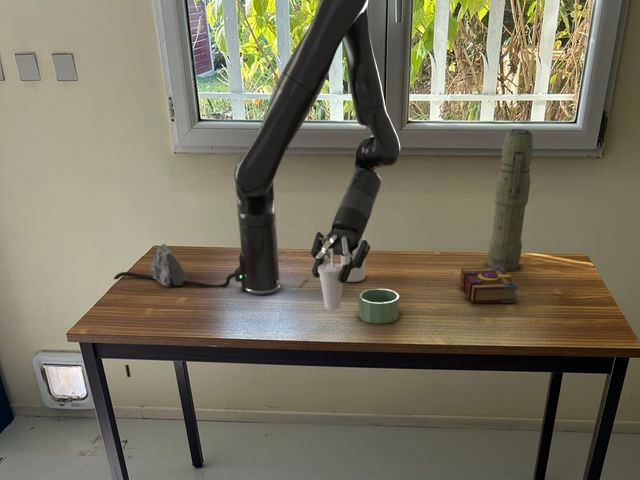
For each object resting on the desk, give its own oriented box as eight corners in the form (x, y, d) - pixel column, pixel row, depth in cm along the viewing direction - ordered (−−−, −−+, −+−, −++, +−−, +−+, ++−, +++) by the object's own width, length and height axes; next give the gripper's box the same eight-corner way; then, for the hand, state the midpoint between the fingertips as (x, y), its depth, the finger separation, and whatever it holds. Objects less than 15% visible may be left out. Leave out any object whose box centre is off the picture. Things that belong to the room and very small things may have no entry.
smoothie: (326, 313, 163) (324, 254, 155) (314, 304, 168) (312, 246, 159) (350, 308, 165) (349, 249, 157) (338, 299, 170) (337, 242, 162)
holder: (356, 321, 165) (356, 301, 163) (363, 306, 173) (363, 287, 170) (395, 324, 164) (395, 304, 161) (400, 309, 171) (401, 290, 169)
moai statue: (513, 258, 202) (531, 126, 182) (523, 272, 193) (543, 134, 173) (483, 259, 202) (497, 126, 182) (491, 273, 193) (507, 135, 173)
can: (364, 282, 187) (365, 237, 180) (340, 282, 187) (340, 237, 180) (364, 274, 192) (365, 230, 185) (341, 274, 192) (340, 230, 185)
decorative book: (471, 305, 173) (473, 286, 171) (457, 282, 187) (459, 264, 184) (516, 303, 174) (519, 284, 171) (499, 281, 187) (501, 262, 185)
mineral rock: (153, 272, 194) (147, 235, 188) (192, 271, 195) (187, 234, 189) (145, 288, 184) (138, 250, 178) (186, 287, 184) (180, 249, 179)
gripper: (321, 201, 162) (295, 266, 161) (374, 209, 156) (348, 276, 155) (333, 218, 169) (309, 281, 167) (385, 227, 163) (360, 292, 161)
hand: (328, 278), depth 161 cm, fingers closed on smoothie, 6 cm apart
